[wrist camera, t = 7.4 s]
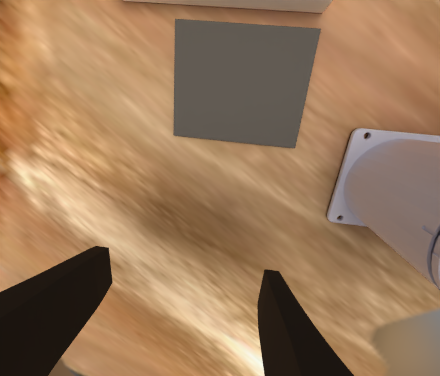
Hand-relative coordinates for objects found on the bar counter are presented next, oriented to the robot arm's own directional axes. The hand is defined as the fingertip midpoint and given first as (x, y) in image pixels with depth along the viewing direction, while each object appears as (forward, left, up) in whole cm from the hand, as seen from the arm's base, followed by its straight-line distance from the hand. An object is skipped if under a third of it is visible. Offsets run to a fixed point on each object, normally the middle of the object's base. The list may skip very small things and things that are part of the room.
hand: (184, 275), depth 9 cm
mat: (-1, -9, -10) cm, 14 cm away
